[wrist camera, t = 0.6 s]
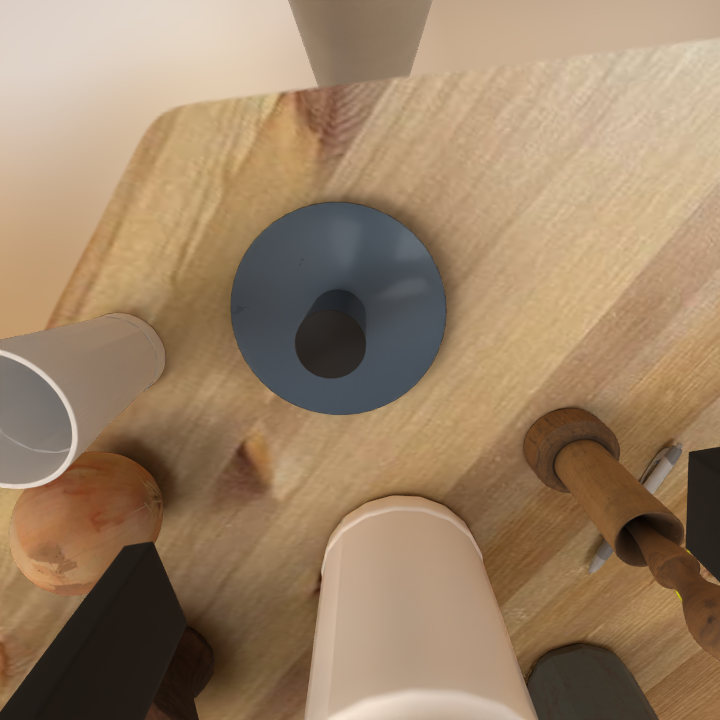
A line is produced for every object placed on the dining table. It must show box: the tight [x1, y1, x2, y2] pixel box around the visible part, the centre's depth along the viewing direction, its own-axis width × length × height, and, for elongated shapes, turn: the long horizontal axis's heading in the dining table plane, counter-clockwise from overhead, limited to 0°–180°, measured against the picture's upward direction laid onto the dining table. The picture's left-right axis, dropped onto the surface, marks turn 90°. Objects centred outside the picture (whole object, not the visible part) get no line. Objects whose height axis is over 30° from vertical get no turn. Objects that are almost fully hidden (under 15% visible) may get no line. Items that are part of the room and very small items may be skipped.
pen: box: [588, 443, 683, 574], centre depth 36 cm, size 1×14×1 cm, turn 158°
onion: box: [9, 452, 163, 596], centre depth 32 cm, size 10×10×10 cm
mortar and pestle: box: [524, 409, 720, 660], centre depth 26 cm, size 7×6×18 cm
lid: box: [231, 202, 446, 415], centre depth 28 cm, size 16×16×9 cm
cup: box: [0, 313, 166, 489], centre depth 27 cm, size 8×8×12 cm
